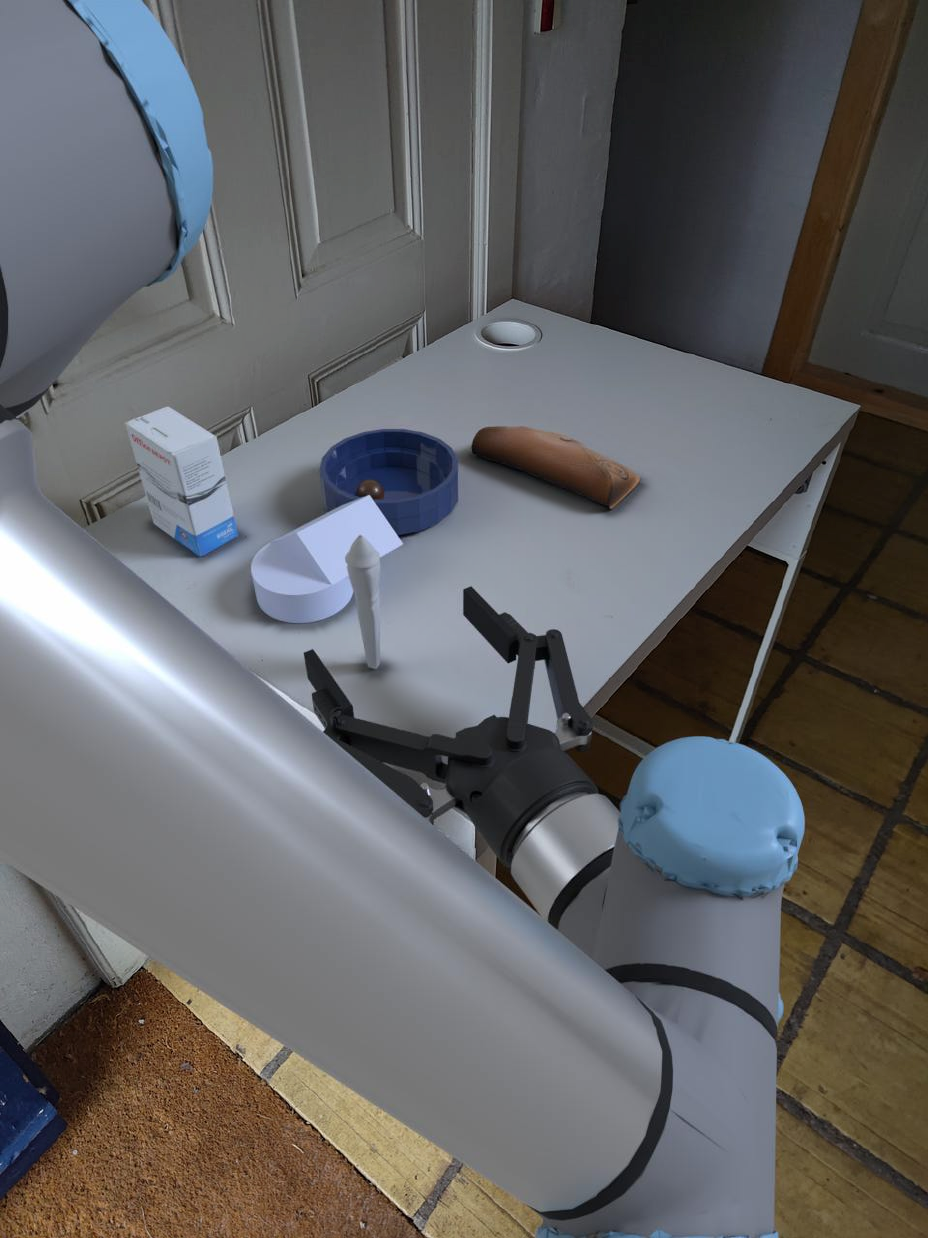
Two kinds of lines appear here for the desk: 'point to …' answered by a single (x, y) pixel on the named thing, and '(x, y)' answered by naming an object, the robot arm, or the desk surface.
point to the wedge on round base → (317, 562)
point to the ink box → (183, 479)
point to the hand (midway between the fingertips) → (391, 630)
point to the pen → (366, 594)
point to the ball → (370, 489)
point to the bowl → (394, 475)
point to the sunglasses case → (557, 462)
